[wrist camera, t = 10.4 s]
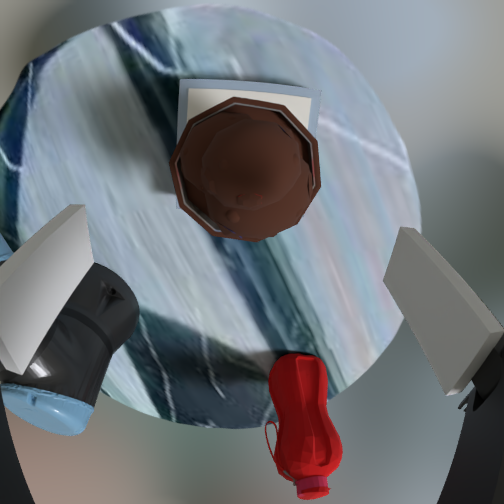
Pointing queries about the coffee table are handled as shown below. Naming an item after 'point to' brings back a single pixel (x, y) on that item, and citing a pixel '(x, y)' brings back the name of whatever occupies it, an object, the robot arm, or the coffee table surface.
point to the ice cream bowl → (245, 169)
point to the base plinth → (216, 91)
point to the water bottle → (303, 424)
